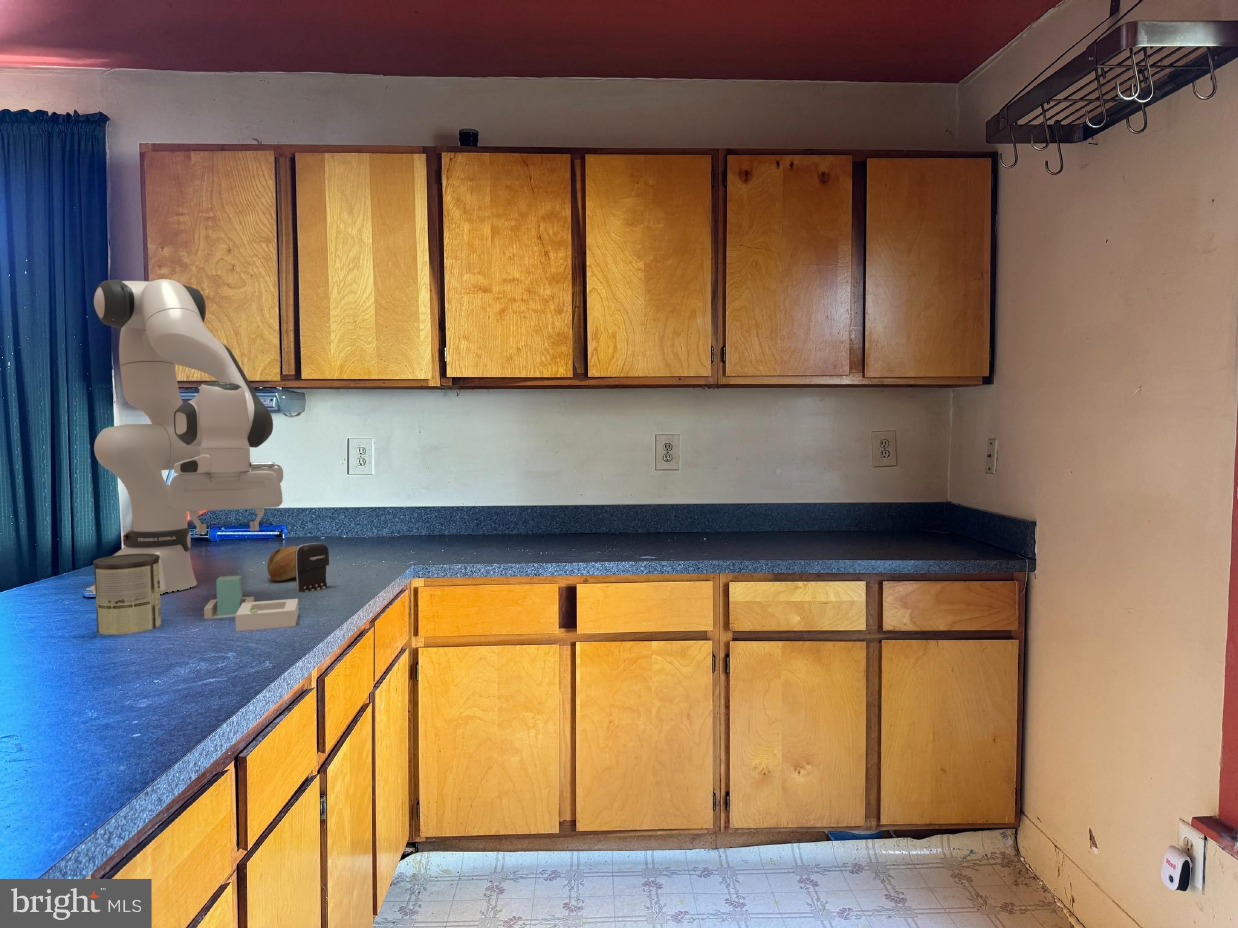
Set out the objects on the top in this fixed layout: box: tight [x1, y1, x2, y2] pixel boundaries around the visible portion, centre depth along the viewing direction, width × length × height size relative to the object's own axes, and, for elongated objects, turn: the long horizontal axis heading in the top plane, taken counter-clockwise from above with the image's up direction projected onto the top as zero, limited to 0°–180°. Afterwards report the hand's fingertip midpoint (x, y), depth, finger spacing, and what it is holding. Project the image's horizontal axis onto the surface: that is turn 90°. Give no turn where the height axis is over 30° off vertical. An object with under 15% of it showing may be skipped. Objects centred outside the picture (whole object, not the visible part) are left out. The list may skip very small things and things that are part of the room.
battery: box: [295, 542, 330, 593], centre depth 172 cm, size 7×4×11 cm, turn 143°
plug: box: [215, 574, 243, 615], centre depth 151 cm, size 4×4×7 cm
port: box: [235, 598, 299, 632], centre depth 143 cm, size 10×10×4 cm
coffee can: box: [93, 553, 162, 636], centre depth 139 cm, size 10×10×14 cm
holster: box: [203, 596, 255, 620], centre depth 151 cm, size 8×8×3 cm
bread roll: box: [266, 545, 298, 582], centre depth 190 cm, size 10×15×8 cm, turn 170°
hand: (228, 532), depth 150 cm, fingers open, 8 cm apart
